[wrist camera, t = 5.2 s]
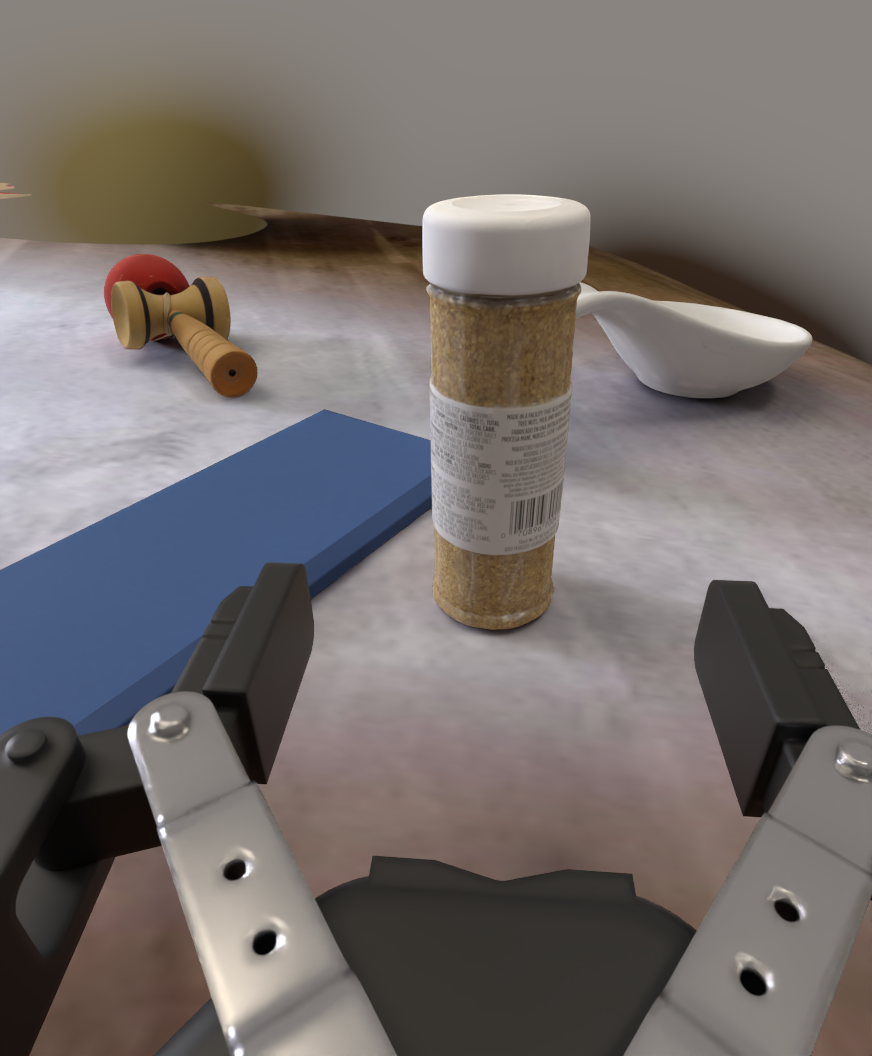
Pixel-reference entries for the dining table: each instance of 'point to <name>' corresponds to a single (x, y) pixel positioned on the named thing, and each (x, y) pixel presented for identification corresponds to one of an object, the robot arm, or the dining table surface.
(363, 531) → the blue flat rectangular slab
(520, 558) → the spice jar
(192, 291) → the kendama
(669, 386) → the spoon rest
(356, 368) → the dining table surface
